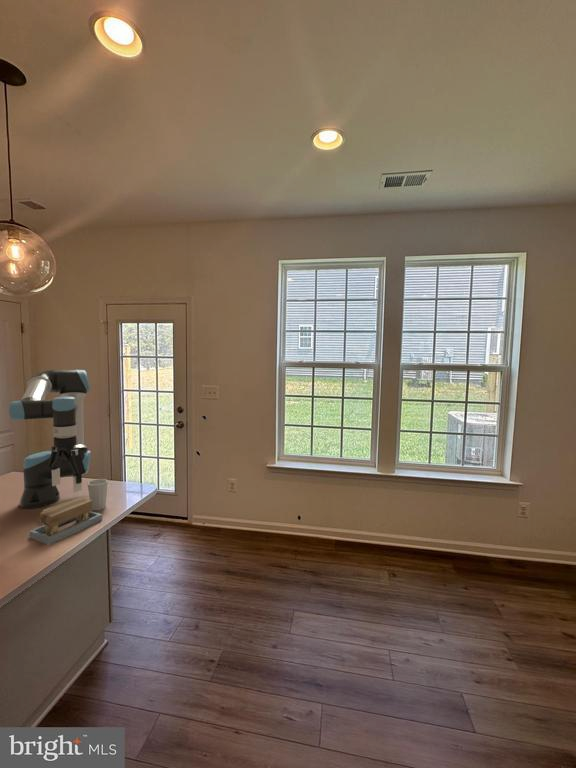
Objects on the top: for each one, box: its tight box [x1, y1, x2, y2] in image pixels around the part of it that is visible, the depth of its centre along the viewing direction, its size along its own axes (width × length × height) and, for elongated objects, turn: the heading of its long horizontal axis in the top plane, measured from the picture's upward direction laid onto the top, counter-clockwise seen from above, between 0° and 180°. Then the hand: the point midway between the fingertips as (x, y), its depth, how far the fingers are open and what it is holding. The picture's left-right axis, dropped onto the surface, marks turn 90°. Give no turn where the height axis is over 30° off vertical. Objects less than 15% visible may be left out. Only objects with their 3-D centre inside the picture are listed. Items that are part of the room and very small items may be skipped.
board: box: [39, 497, 93, 527], centre depth 130 cm, size 7×16×4 cm, turn 156°
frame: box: [28, 510, 103, 546], centre depth 130 cm, size 12×21×5 cm, turn 156°
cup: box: [87, 478, 109, 511], centre depth 149 cm, size 8×8×12 cm
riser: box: [42, 499, 74, 512], centre depth 142 cm, size 4×12×4 cm, turn 156°
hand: (66, 488), depth 130 cm, fingers open, 13 cm apart
